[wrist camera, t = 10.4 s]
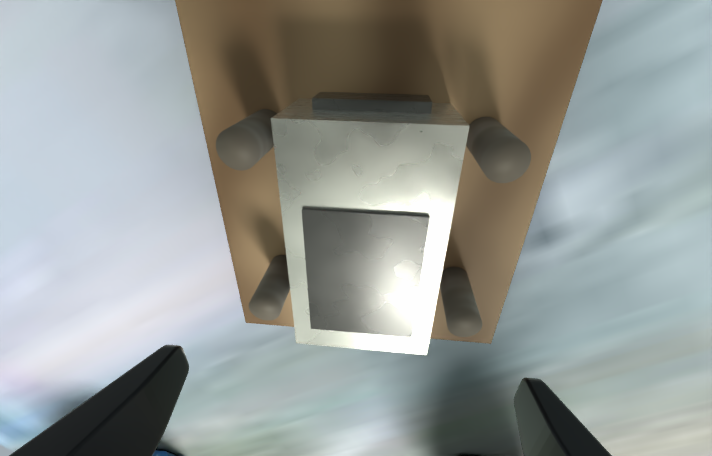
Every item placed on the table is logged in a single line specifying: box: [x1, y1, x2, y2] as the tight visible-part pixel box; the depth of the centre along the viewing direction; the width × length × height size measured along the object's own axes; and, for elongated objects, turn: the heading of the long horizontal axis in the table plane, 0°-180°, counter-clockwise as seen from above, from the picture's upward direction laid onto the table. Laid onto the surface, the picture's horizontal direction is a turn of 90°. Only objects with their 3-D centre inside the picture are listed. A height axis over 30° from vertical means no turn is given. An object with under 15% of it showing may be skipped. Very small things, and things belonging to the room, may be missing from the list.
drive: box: [271, 92, 469, 355], centre depth 15 cm, size 6×11×4 cm, turn 179°
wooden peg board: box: [175, 0, 602, 344], centre depth 16 cm, size 16×18×5 cm
